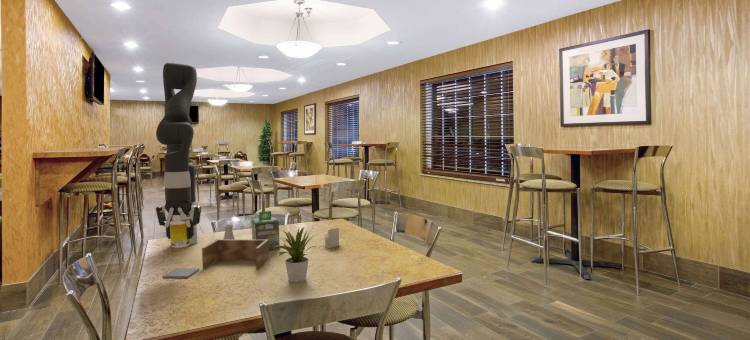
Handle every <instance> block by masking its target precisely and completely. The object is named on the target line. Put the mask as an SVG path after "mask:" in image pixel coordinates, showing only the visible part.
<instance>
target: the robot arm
mask: <svg viewBox="0 0 750 340" xmlns="http://www.w3.org/2000/svg"><path fill="white" fill-rule="evenodd" d="M197 76H198V73H197V69H196V67H195V66H194V65H192V64H188V63H186V64H185V63H177V62H176V63H175V62H165V64H164V65H163V68H162V80H163V82H162V83H163V92H164V104H165V106H164V107H165V111H164V112H165V113H164V114H165V115H164V116H163V118H162V119H161V120H160V122H159V123H158V125H157V127H156V131H155V133H156V134H155V136H156V139H157V141H158V143H160V144H161V145H164V146H166V154H164V157H163V159H164V160H163V163H164V164H163V165H164V179H163V181H164V185H163V187H164V201H165V204H164V205H159V206H157V207H156V208H155V212H156V215H157V216H156V217H157V221H158V225H159V226H162V227H165V236H166V238H167V239H168V240H171V238H170V222H171V221H172V215H181V217H182V219H183V221H185V223H186V225H187V239H190V244H189V245H188V246H191V245H194V244H198V224H200V222H201V221H200V220H201V215H202V214H201V213H202V205H197V201H196V200H197V198H196V168H195V164H194V163H192V162H190V160H189V157H190V151H191V145H192V143H193V139H194V135H195V134H194V133H195V131H194V127H193V125H192V123H193V122H192V119H191V117H190V110H191V109H190V108H191V104H192V100H193V97H194V95H195V91H196V88H197V82H198V81H197V80H198V77H197ZM175 90H179V91H178V92H177V93H176V92H175ZM166 212H167V213H168V214H167V216H166Z"/></svg>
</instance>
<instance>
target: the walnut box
mask: <svg viewBox="0 0 750 340" xmlns="http://www.w3.org/2000/svg"><path fill="white" fill-rule="evenodd" d="M201 257H202V258H201V259H202V270H204V269H205V270H206V269H208V268H209V267H211V266H212V265H213V264H214V263H216V262H217V261H219V260H255V269H256V270H259V269H261V268H262V267H263V266H264V265H265V264H266V263H267V262H268V261H269V260H270V251H269V240H252V239H235V240H223V239H215V240H214V241H212V242H210V243H208V244H207V245H205V246H203V247H202V248H201Z"/></svg>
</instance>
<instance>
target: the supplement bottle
mask: <svg viewBox="0 0 750 340" xmlns="http://www.w3.org/2000/svg"><path fill="white" fill-rule="evenodd" d="M170 238H171V239H170V247H172V248H176V249H179V248H186V247H188V246H190V245H189V244H190V239H187V225H186V223H185V221H183V219H182V217H181V215H172V221H171V222H170Z"/></svg>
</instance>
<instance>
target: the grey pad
mask: <svg viewBox="0 0 750 340" xmlns="http://www.w3.org/2000/svg"><path fill="white" fill-rule="evenodd" d="M199 271H200V268H199V267H198V268H197V267H196V268H193V267H192V268H191V267H190V268H189V267H187V268H185V267H182V268H181V267H179V268H174V269H172V270H170V271H169V272H167V273H166V274H164V275H163V276H162V279H189V278H191V277H192V276H193V275H195V274H196V273H198V272H199Z"/></svg>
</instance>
